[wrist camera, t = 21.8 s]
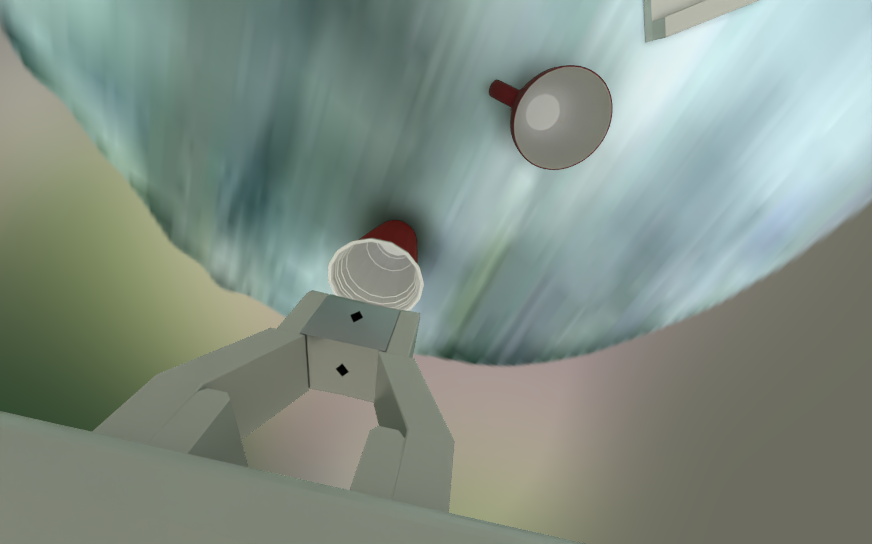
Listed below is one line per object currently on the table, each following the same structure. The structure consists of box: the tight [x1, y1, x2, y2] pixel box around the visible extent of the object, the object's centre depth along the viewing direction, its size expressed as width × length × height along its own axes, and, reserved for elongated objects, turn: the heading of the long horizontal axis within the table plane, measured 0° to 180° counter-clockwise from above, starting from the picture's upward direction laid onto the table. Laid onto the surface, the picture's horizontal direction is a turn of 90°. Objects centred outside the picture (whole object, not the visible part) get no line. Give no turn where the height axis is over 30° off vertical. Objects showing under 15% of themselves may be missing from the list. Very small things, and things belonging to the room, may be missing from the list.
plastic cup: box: [328, 220, 424, 311], centre depth 41 cm, size 11×11×12 cm
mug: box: [489, 65, 612, 170], centre depth 31 cm, size 10×8×10 cm
